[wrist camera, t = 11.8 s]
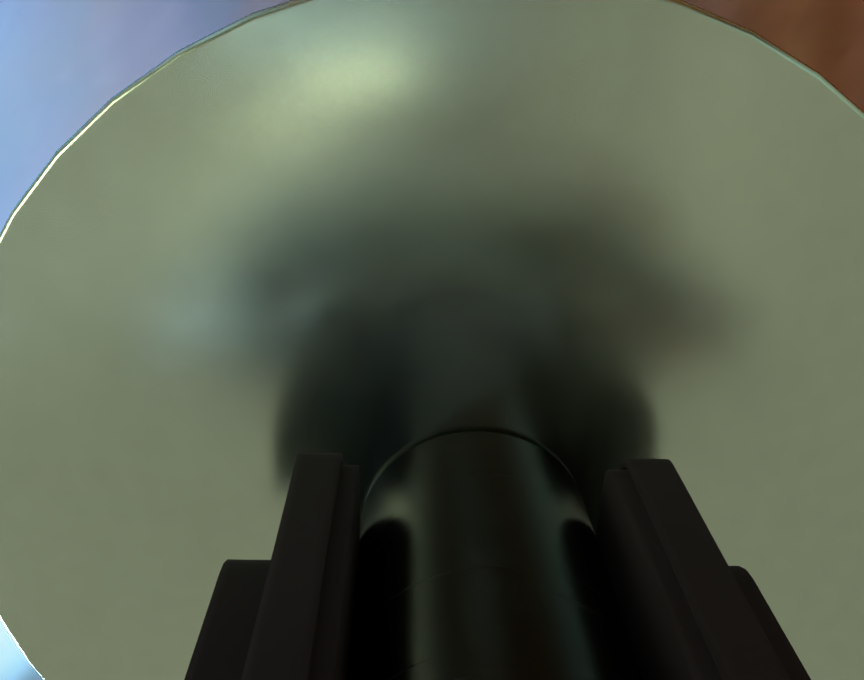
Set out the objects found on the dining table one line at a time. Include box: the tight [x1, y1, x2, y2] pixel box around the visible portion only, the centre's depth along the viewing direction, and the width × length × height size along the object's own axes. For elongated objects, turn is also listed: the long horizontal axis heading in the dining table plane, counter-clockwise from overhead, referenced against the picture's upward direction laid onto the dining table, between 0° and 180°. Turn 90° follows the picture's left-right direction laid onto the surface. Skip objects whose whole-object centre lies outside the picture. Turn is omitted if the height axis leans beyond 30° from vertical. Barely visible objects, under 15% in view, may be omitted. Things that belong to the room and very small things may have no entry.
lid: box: [0, 0, 864, 680], centre depth 9 cm, size 14×14×7 cm
